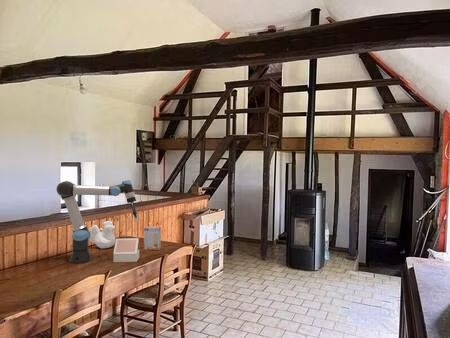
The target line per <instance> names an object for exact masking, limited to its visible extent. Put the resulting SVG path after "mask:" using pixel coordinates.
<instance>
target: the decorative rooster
mask: <svg viewBox="0 0 450 338" xmlns="http://www.w3.org/2000/svg"><path fill="white" fill-rule="evenodd" d="M102 225H103V227H100V228H99V227H98V225H97V224H94V225H92V226H91V227H90V228H88V230H89V232H90V239H89V241H90V242H91V243H92V244H93V243H94V244H95V245H96V246H97V247H98V248H99V249H108V248H111V247H113V246H115V242H116V239H117V238H116V236H115V228H116V226H115V225H113V222H112V221H110V220H106V221H103V223H102ZM89 241H88V242H89Z"/></svg>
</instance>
